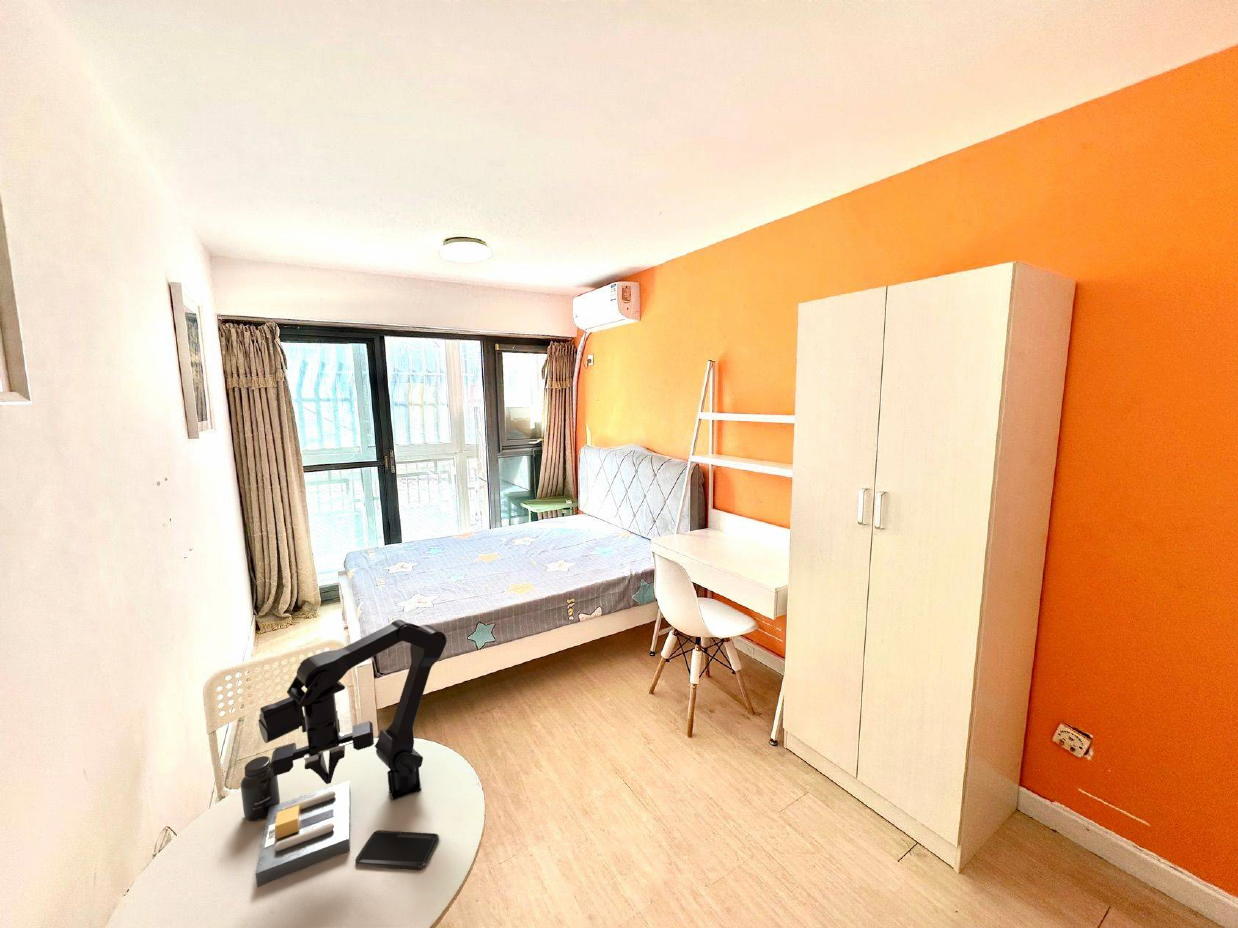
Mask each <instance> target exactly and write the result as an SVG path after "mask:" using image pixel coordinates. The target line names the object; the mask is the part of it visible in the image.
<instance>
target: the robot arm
mask: <svg viewBox="0 0 1238 928" xmlns="http://www.w3.org/2000/svg"><path fill="white" fill-rule="evenodd" d="M401 642H405V643H408V644H410V647H409V648H410V649H409V652H410V662H411V663H410V666H409V669H408V673H407V676H406V678H405V679H406V680H405V681H404V685H403V688H402V691H401V695H400V697H399V700H398V705H397V707H396V710H395V713H394V716H393V720H392V722H391V724H390V725H389V726H388V727H387V728H386V729H381V730H380V731H379V734H378V739H377V742H376V743H375V740H374V739H375V738H374V737H375V736H374V726H373V725H374V724H373V722H371V720H368V721H365V722H361V723H358V724H354V725H352V732H350V733H348V734H344V733H341V726H340V719H339V717H338V710H337V706H336V705H337V704H336V696H335V695H336V694H337V693H339V692H341V691H344V690H346V686H345V685H344V684H343V683H342V682H341V680H342V679H343V677H344V676H345V675H346V674H347V673H348V671H350V670H351V669H353V668H354V667H356V666H357V665H359V664H361V663H364V662H366V661H367V660H369V659H371V658H372V657H375V656H377V655H378V654H380V653H382V652H384V651H386V650H388V649H390V648H392V647H394V646H395V645H397V644H400V643H401ZM447 642H448V639H447V636H446V635H445V634H444V632H442V631H441V630H439V629H437V628H435V627H433V626H431V625H428V624H423V625H420V626H419V625H417V624H414V623H411V622H406V621H405V620H403V619H395V620H393V621H392V622H391V623H390V624H388V625H385V626H384V627H383V628H381V629H378V630H376V631H373V632H372V633H369V634H368V635H366V636H364V637H362V638H361V639H359V640H356V641H354V642H352V643H350V644H348V645H346V646H344V647H342V648H339V649H336V650H329V651H328V650H327V651H324V652H320V653H317V654H314V655H311V656H308V657H307V658H304V659H303V660H302V661H301V662H300V663H299V666H298V667H297V670H296V675H295V677H294V679H293V680H292V682H291V684H290V686H289V687H288V689H287V690H286V694H287V695H288V697H286V698H283V699H282V700H279V701H276V702H274V703H270V704H266V705H263V706H262V707H260V708H259V709H260V710H259V711H260V713H259V719H258V720H257V722H258V728H259V732H260V735H261V738H262V740H263V742H264V744H268V743H270V742H272V741H275V740H276V739H279V738H281V737H283V736H286V735H288V734H290V733H292V732H294V731H296V730H299V728H301V732H302V733H306V736H307V745H305V746H302V747H299V748H297V744H296V742H293V743H288V744H286V745H281V746H278V747H276V748H275V749H274V750H273V752H272V754H271V755H272V756H271V758H270V771H271V776H277V777H278V776H280V775H283V774H285V773H289V772H290V771H291V770H292V769H293V768H294V761H296V760H300V759H303V760H304V769H305V770H311V771H313V772H314V773H315V774H317V775H318V776H319V778H321V780H322V781H323V782H324V783H325V784H326V785H329V784H331V783H332V780H333V777H334V773H335V770H336V768H337V765H338V763H339V762H340V760H341V759H343V758H345V754H346V746H347V745H351V744H352V748H353V749H354V750H356V751H360V750H364V749H367V748H370V747H372V746H374V748H375V755H377V757H378V758H379V759H380V761H382V763H383V764H384V765H385V766H386V767H388V769H389V770H388V771H387V774H386V775H387V781H388V782H387V783H388V793H389V794H390V795H391V800H392V801H395V800H398V799H400V798H401V799H402V798H403V797H406V796H409V795H412V794H414V793H417V792H421V790H422V783H421V779H420V768H421V767H422V765H423V761H424V757H423V755H422V754H420V753H419V752H418V751H417V750H415V748H414V747H415V746H414V745H415V740H414V738H415V737H414V725H415V723H416V722H415V721H416V717H417V715H418V711H419V708H420V705H421V701H422V699H423V695H424V692H425V690H426V686H427V683H428V679H429V676H430V673H431V669H432V667H433V666H434V664H435V663H437V662H438V661H439V659H441V656H442V654H443V652H444V650H445V647H446V645H447ZM303 687H304V688H305V689H306V690H303ZM328 751H329V752H328ZM324 752H328V753H329V754H328V768H327V764H326V760H325V756H324Z"/></svg>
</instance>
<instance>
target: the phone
mask: <svg viewBox="0 0 1238 928" xmlns="http://www.w3.org/2000/svg"><path fill="white" fill-rule="evenodd" d="M439 841H440V836H439V834H438V833H431V832H419V831H417V832H414V831H401V830H385V829H383V830H382V829H378V830H375V831H374V832H372V833H371V835H370V836H369V838H368V839H367V841H366V842H365V843H364V845H363V847H362V848H361V850H360V851H359V853H358V854H357V856H356V857H355V862H354V863H355V866H356V867H361V868H375V869H387V870H388V869H389V870H403V871H404V870H405V871H422V870H424V869H425V868H426V867H427V865H428V864H429V861H430V860H431V858H432V855H433V853H434V851H435V849H436V847H437V846H438V844H439Z"/></svg>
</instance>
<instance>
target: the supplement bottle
mask: <svg viewBox="0 0 1238 928" xmlns="http://www.w3.org/2000/svg"><path fill="white" fill-rule="evenodd" d="M270 763H271V758H270V757H269V756H267V755H266V756H265V755H262V756H258V757H256V758H252V760H250V761H249V762H247V763H246V765H244V776H243V778H242V779H241V782H240V794H241V802H242V809H243V815H244V816H243V817H244V819H245V820H247V821H249V822H258V821H261V820H263V819H267V816H268V811H269V807H272V806H275V805H278V804H281V803H280V801H281V798H280V788H279V781H278V780H279V779H278V775H277V776H271V771H270Z"/></svg>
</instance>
